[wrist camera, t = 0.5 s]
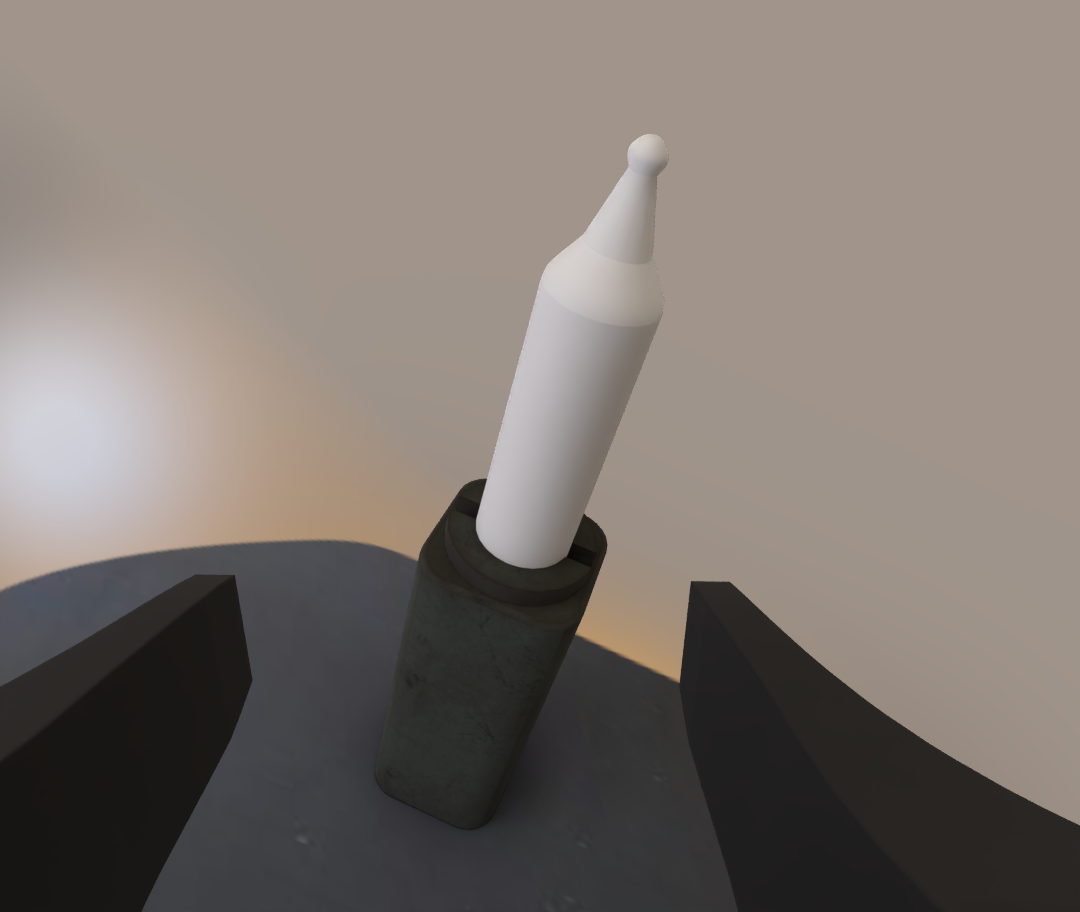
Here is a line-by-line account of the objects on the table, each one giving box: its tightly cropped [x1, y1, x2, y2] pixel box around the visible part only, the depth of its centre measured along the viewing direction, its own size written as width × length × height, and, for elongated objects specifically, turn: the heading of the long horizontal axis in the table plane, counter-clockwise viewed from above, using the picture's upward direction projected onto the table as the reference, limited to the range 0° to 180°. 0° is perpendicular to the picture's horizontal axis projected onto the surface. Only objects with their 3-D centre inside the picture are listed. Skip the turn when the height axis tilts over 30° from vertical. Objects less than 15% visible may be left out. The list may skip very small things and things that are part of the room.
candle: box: [375, 134, 669, 829], centre depth 23 cm, size 5×5×25 cm
